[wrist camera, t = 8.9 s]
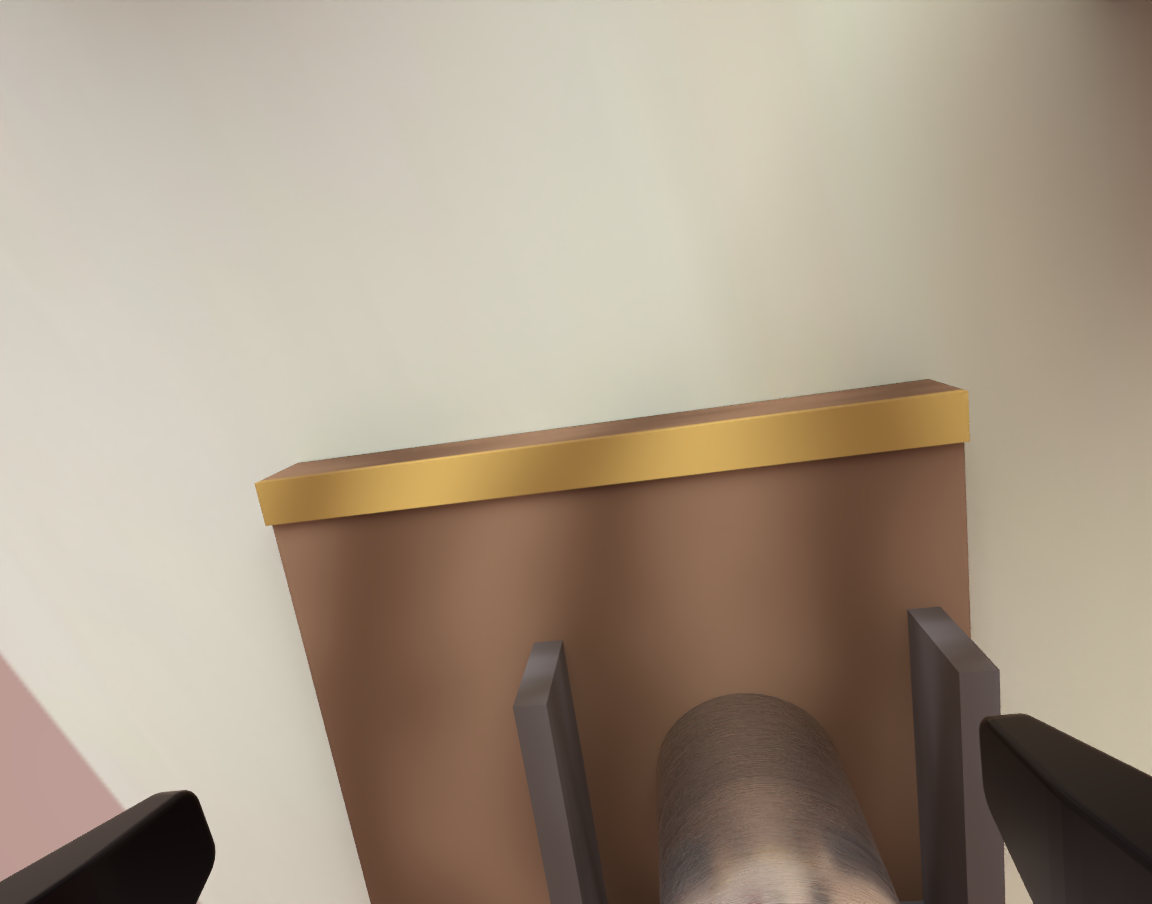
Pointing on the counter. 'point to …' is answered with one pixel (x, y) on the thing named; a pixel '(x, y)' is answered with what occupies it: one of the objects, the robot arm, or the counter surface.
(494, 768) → the dock
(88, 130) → the counter surface
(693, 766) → the canister
